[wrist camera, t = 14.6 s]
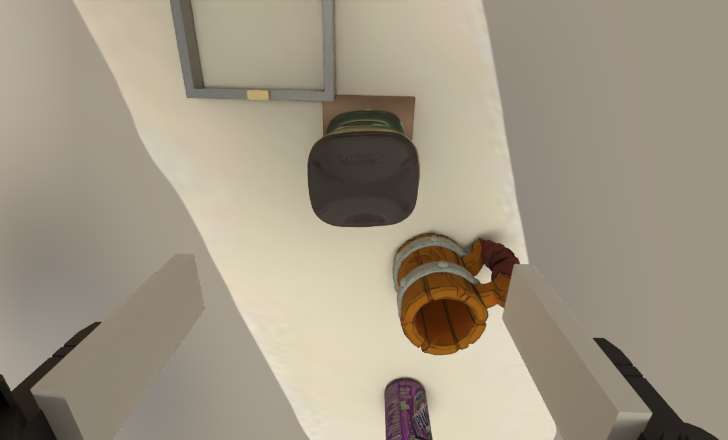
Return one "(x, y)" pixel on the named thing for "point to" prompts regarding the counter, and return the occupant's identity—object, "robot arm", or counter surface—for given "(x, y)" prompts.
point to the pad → (371, 108)
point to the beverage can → (406, 412)
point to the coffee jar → (363, 171)
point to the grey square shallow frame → (197, 90)
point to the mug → (448, 290)
